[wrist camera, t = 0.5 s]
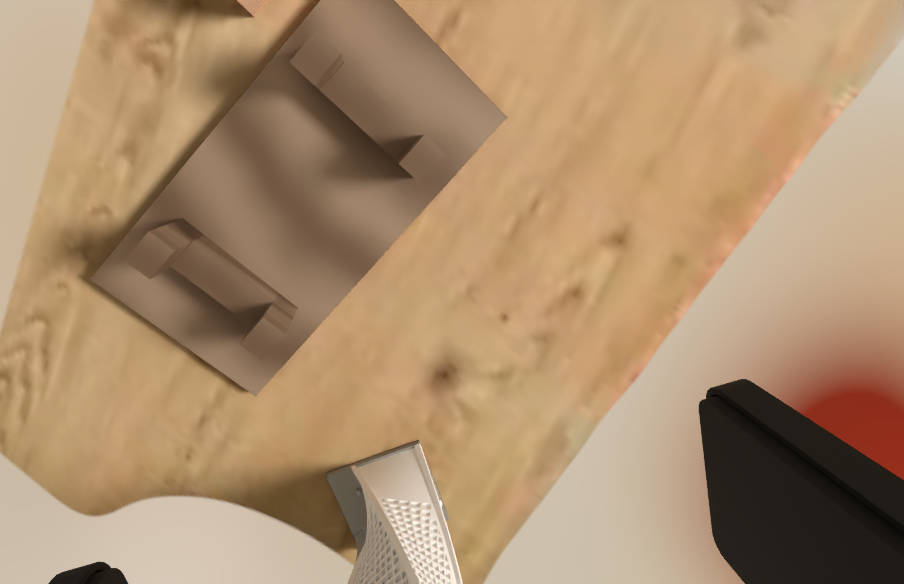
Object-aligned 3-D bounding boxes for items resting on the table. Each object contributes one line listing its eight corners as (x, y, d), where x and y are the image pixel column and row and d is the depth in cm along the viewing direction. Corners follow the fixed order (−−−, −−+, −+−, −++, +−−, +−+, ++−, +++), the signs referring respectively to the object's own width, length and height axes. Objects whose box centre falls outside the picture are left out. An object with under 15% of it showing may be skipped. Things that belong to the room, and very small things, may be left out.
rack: (355, -36, 31) (349, -77, 25) (503, 117, 34) (529, 113, 28) (97, 275, 33) (39, 303, 27) (258, 389, 36) (236, 436, 31)
